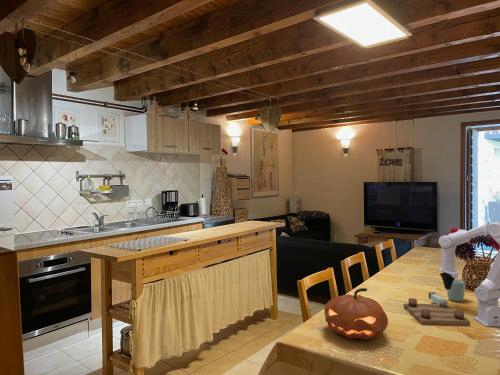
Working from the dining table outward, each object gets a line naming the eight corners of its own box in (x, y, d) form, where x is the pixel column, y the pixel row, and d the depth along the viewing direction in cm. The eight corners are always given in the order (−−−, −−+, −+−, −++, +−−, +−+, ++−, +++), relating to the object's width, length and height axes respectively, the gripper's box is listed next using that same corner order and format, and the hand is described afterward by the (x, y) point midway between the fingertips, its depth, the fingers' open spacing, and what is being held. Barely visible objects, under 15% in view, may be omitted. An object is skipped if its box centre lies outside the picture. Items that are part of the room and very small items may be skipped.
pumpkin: (313, 338, 141) (313, 289, 140) (334, 316, 162) (334, 274, 162) (380, 354, 128) (381, 301, 127) (393, 328, 149) (394, 283, 149)
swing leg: (448, 307, 168) (448, 301, 168) (441, 307, 168) (441, 301, 168) (434, 298, 181) (434, 292, 181) (428, 297, 181) (428, 292, 181)
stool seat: (470, 325, 153) (470, 314, 152) (421, 324, 154) (421, 313, 153) (446, 308, 173) (446, 298, 172) (403, 307, 174) (403, 297, 173)
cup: (466, 303, 179) (467, 283, 179) (449, 302, 181) (450, 282, 181) (461, 298, 187) (461, 279, 187) (444, 297, 189) (444, 278, 188)
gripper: (432, 257, 180) (432, 284, 181) (446, 264, 166) (446, 293, 166) (446, 257, 180) (446, 284, 180) (462, 264, 166) (462, 293, 166)
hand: (447, 289), depth 173 cm, fingers closed
